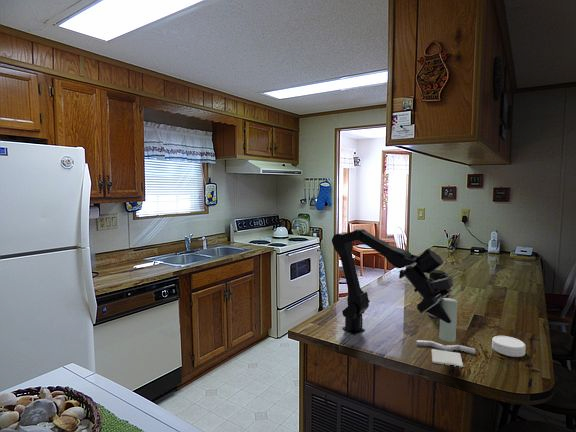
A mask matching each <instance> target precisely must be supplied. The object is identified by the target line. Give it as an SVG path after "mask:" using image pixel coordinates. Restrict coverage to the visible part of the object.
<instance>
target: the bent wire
mask: <svg viewBox="0 0 576 432" xmlns="http://www.w3.org/2000/svg"><path fill="white" fill-rule="evenodd" d="M415 343H416V344H415V345H416V346H418V347H419V346H420V347H431V348H432V347H433V348H434V349H437V350H442V351H449V352H454V351H453V350H457V351H459V350H460V352H463V351H464V353H467V354H468V353H469V354H472V355H475V354H476V348H474V347H473V348H472V347H469V346H466V345H461V344H455V345H454V344H451V345H450V344H449V345H445V344H441V343H438V342H436V341H433V340H421V339H419V340H417V339H416V342H415Z"/></svg>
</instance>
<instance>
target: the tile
mask: <svg viewBox="0 0 576 432" xmlns="http://www.w3.org/2000/svg"><path fill="white" fill-rule="evenodd" d="M461 355H462V354H461V353H460V352H456V351H455V352H454V351H443V350H440V349H437V348H431V360H432V363H433V364H439V365H444V364H445V365H444V366H450V365H454V366H453V367H456V366H459V367H458V368H462V367H463V368H464V362H463V359H462V356H461Z"/></svg>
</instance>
